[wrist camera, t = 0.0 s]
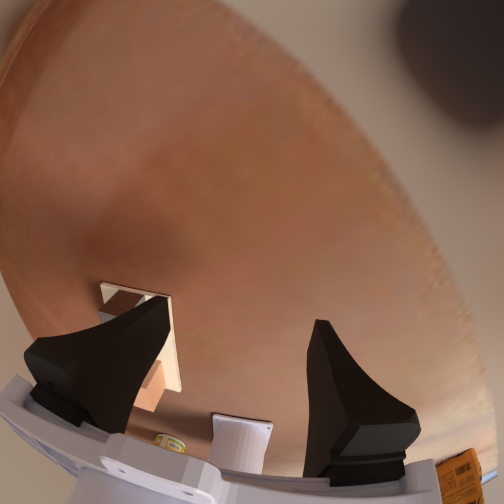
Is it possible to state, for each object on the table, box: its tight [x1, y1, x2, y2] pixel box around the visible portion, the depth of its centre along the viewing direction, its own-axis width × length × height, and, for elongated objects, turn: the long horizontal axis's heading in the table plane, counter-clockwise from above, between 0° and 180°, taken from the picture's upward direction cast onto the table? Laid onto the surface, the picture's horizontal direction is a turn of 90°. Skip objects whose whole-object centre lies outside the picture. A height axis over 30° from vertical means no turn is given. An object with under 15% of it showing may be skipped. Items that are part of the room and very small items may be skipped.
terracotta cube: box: [133, 360, 166, 412], centre depth 27 cm, size 4×4×4 cm
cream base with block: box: [98, 282, 182, 392], centre depth 26 cm, size 14×8×5 cm, turn 175°
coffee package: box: [435, 448, 484, 504], centre depth 26 cm, size 10×12×22 cm
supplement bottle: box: [153, 434, 185, 453], centre depth 34 cm, size 5×5×10 cm
